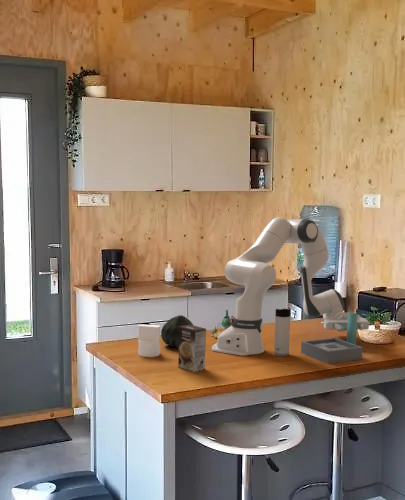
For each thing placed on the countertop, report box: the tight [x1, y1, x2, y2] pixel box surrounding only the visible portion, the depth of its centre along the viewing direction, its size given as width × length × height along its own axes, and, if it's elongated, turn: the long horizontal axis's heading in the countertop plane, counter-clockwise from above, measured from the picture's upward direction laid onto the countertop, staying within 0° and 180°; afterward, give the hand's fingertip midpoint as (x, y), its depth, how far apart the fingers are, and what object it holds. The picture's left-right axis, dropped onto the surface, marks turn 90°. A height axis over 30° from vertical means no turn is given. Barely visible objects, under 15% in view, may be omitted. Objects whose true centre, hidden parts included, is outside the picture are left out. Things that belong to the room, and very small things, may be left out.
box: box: [300, 337, 364, 365], centre depth 268 cm, size 18×18×5 cm
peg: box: [346, 311, 358, 345], centre depth 280 cm, size 4×4×16 cm
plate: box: [313, 342, 349, 351], centre depth 268 cm, size 12×12×3 cm
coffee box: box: [177, 324, 207, 373], centre depth 245 cm, size 9×6×16 cm
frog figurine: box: [210, 309, 234, 339], centre depth 294 cm, size 10×18×15 cm, turn 33°
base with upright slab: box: [138, 323, 161, 358], centre depth 265 cm, size 9×9×12 cm
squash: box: [160, 314, 194, 349], centre depth 278 cm, size 14×15×15 cm
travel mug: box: [273, 308, 291, 357], centre depth 268 cm, size 6×7×20 cm
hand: (351, 328), depth 279 cm, fingers open, 8 cm apart
